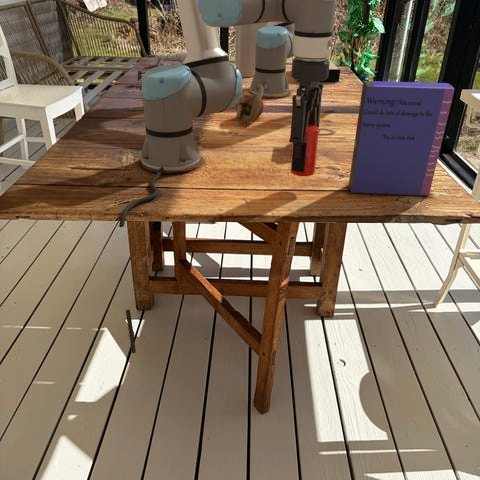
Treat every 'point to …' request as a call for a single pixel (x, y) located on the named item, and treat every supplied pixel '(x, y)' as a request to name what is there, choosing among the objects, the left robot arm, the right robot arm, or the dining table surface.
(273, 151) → the dining table surface
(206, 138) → the dining table surface
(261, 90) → the brown lumpy shape
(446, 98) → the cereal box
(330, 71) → the disc drive
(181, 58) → the toy
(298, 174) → the can
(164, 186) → the dining table surface
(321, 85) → the left robot arm
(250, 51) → the tall cream pillar
